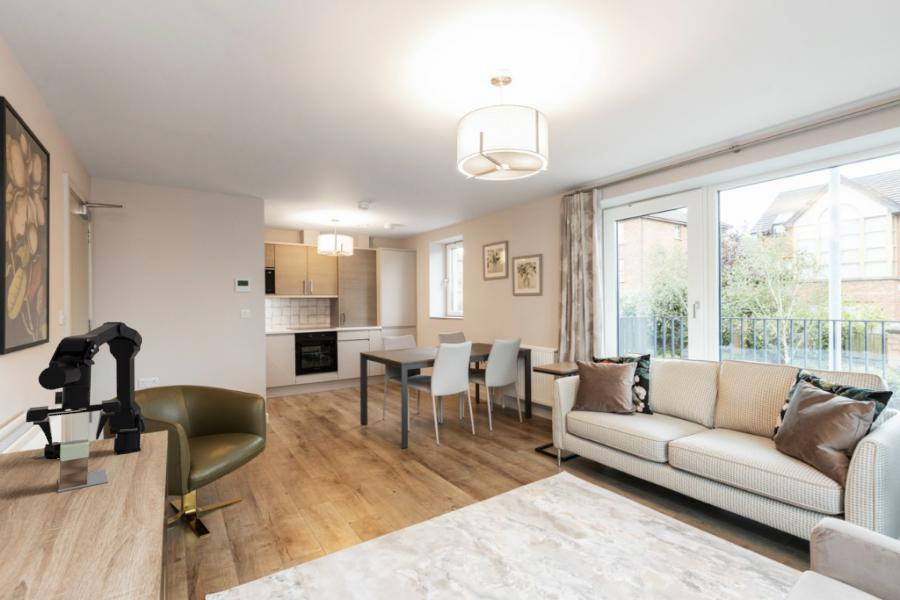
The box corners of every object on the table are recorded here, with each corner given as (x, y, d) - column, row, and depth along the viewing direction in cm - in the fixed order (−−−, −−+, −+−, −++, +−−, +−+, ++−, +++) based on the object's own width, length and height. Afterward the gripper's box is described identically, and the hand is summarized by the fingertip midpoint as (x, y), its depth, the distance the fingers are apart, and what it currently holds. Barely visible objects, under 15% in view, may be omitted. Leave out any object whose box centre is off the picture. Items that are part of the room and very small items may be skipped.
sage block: (87, 451, 118) (87, 438, 118) (88, 456, 114) (89, 443, 114) (60, 456, 114) (60, 442, 114) (60, 461, 110) (61, 447, 110)
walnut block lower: (86, 478, 117) (86, 465, 117) (87, 484, 113) (87, 470, 113) (59, 483, 114) (59, 469, 114) (59, 489, 109) (59, 475, 110)
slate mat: (104, 470, 124) (104, 469, 124) (108, 482, 115) (108, 481, 115) (58, 479, 117) (58, 478, 117) (57, 492, 108) (57, 491, 108)
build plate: (81, 456, 139) (82, 441, 139) (57, 463, 132) (58, 448, 132) (50, 453, 141) (51, 438, 141) (24, 460, 134) (25, 445, 134)
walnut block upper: (86, 465, 117) (87, 451, 118) (87, 470, 113) (88, 456, 113) (59, 469, 114) (60, 456, 114) (59, 475, 110) (60, 461, 110)
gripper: (118, 377, 127) (116, 430, 126) (30, 383, 114) (27, 442, 113) (121, 381, 118) (119, 438, 118) (27, 389, 106) (24, 452, 105)
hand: (74, 442), depth 114 cm, fingers open, 9 cm apart
